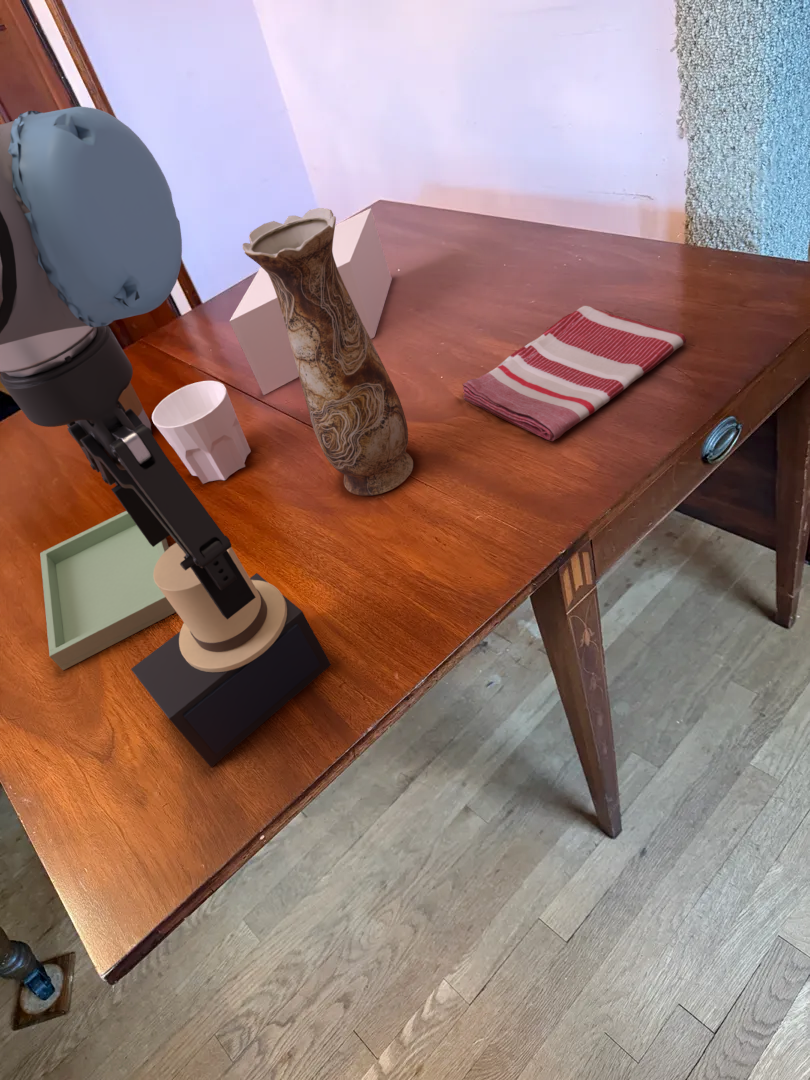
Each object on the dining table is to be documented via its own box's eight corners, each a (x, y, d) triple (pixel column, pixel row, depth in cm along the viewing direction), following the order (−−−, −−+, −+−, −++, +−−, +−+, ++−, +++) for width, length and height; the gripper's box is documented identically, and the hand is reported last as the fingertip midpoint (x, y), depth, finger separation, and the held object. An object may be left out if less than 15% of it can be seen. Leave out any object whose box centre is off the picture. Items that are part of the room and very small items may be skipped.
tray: (187, 606, 82) (176, 590, 81) (63, 670, 80) (49, 656, 78) (158, 514, 97) (148, 499, 95) (51, 566, 94) (39, 552, 93)
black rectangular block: (212, 769, 66) (170, 720, 61) (172, 717, 71) (130, 668, 66) (333, 666, 71) (303, 612, 65) (287, 625, 76) (256, 572, 71)
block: (224, 388, 117) (188, 317, 109) (353, 277, 134) (331, 208, 126) (305, 402, 107) (273, 325, 99) (433, 280, 125) (414, 206, 116)
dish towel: (460, 401, 97) (456, 384, 95) (587, 315, 104) (585, 298, 102) (554, 447, 85) (551, 428, 83) (689, 347, 92) (689, 327, 90)
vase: (343, 511, 87) (238, 268, 67) (331, 460, 95) (235, 230, 75) (427, 481, 87) (347, 229, 67) (409, 433, 95) (332, 195, 75)
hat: (274, 667, 62) (231, 599, 56) (167, 677, 64) (115, 613, 58) (297, 578, 69) (260, 510, 63) (199, 590, 71) (156, 525, 65)
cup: (269, 455, 100) (239, 393, 93) (207, 497, 96) (172, 436, 90) (234, 432, 106) (204, 373, 100) (175, 471, 103) (140, 412, 96)
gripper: (185, 361, 41) (318, 609, 55) (41, 283, 57) (171, 489, 71) (63, 438, 38) (235, 676, 52) (-51, 333, 54) (104, 536, 69)
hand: (199, 569), depth 62 cm, fingers open, 13 cm apart
